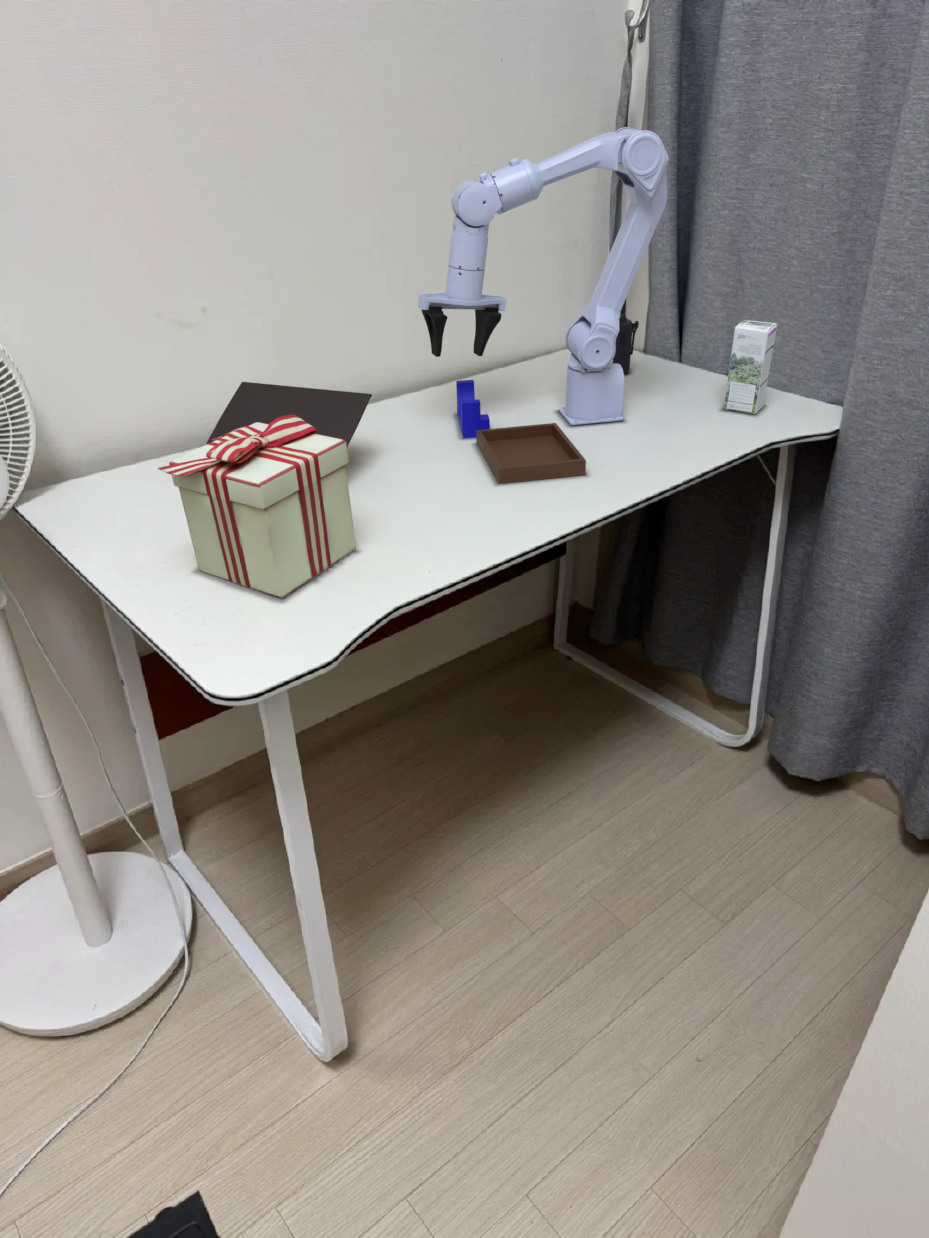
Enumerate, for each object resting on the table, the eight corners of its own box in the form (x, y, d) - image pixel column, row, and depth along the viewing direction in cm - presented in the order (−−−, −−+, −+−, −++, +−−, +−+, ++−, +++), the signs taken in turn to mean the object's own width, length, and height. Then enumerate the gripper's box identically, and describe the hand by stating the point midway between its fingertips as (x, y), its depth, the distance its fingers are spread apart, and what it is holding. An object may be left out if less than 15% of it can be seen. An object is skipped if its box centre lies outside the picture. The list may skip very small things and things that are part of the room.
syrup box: (764, 405, 152) (778, 321, 145) (754, 415, 148) (768, 330, 140) (732, 400, 155) (744, 318, 147) (722, 410, 151) (734, 326, 143)
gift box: (252, 519, 119) (230, 398, 110) (364, 546, 112) (351, 418, 102) (164, 575, 107) (131, 444, 97) (283, 609, 99) (260, 470, 90)
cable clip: (489, 437, 143) (489, 401, 140) (462, 438, 143) (461, 403, 140) (482, 412, 153) (481, 379, 150) (457, 414, 153) (456, 380, 150)
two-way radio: (611, 367, 174) (616, 289, 166) (633, 367, 173) (640, 289, 165) (612, 375, 169) (618, 296, 161) (635, 375, 169) (642, 296, 161)
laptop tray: (198, 521, 132) (170, 483, 125) (258, 413, 143) (236, 371, 135) (331, 542, 125) (310, 502, 118) (384, 426, 136) (368, 383, 128)
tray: (555, 436, 143) (555, 422, 141) (585, 475, 129) (586, 460, 128) (476, 444, 141) (476, 430, 139) (498, 484, 127) (498, 469, 126)
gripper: (496, 263, 140) (485, 347, 147) (413, 260, 134) (407, 348, 141) (516, 273, 135) (504, 359, 142) (431, 270, 129) (423, 360, 136)
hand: (457, 354), depth 141 cm, fingers open, 7 cm apart
